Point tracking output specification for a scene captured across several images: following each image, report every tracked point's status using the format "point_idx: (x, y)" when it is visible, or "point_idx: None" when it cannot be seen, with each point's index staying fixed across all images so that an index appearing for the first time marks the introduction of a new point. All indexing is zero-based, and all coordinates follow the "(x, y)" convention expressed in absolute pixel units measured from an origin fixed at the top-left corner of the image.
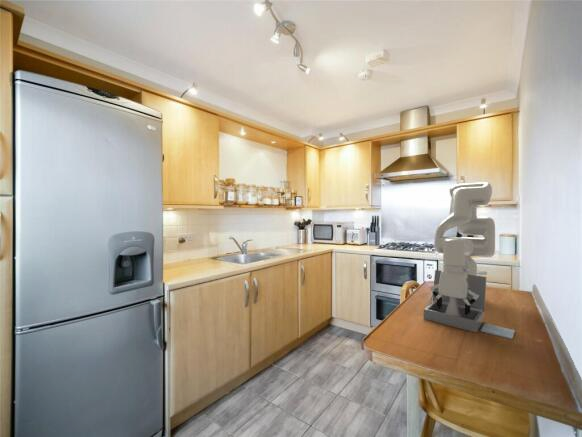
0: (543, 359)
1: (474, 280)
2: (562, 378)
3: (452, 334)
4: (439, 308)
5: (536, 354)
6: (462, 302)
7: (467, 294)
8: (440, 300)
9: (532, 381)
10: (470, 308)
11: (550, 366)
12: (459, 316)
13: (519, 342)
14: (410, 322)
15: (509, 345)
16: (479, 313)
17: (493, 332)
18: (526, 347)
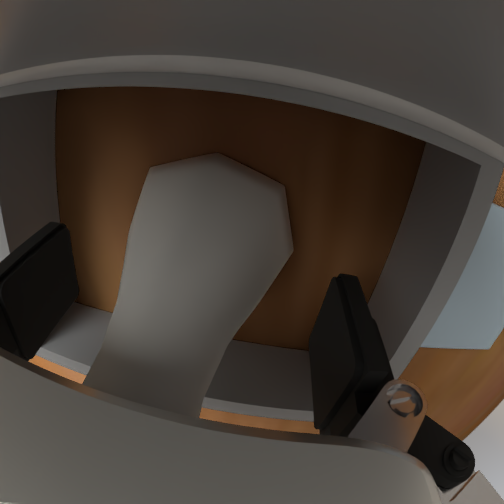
0: (474, 417)
1: None
2: None
3: (238, 420)
4: (73, 293)
5: (478, 404)
6: (296, 44)
7: (426, 497)
8: (28, 343)
9: None
10: (406, 114)
11: (462, 434)
12: (260, 298)
13: (492, 356)
14: (64, 372)
15: (439, 400)
16: (465, 231)
17: (442, 336)
18: (486, 380)
